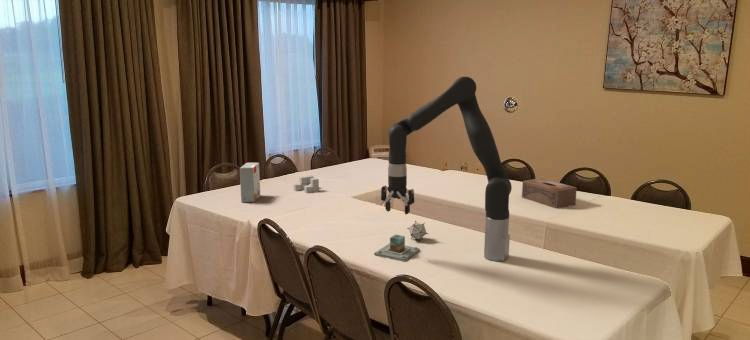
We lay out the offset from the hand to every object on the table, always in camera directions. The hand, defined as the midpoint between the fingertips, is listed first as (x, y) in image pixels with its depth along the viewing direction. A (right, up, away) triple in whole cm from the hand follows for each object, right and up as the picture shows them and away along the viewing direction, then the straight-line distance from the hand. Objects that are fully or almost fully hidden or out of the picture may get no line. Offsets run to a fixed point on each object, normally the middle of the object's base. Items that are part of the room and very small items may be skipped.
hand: (397, 212), depth 221 cm
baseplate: (0, -17, +4) cm, 18 cm away
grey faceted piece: (+10, -14, +20) cm, 26 cm away
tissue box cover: (+88, 0, +80) cm, 119 cm away
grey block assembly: (-51, +5, +105) cm, 117 cm away
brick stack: (0, -16, +4) cm, 17 cm away
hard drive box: (-80, +1, +88) cm, 119 cm away
